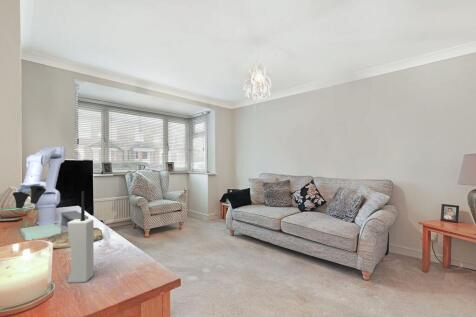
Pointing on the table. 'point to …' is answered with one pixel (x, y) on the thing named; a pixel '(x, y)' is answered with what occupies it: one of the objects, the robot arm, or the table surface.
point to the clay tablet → (63, 238)
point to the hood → (70, 217)
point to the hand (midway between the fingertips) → (26, 205)
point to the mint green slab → (40, 231)
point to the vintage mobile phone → (81, 248)
